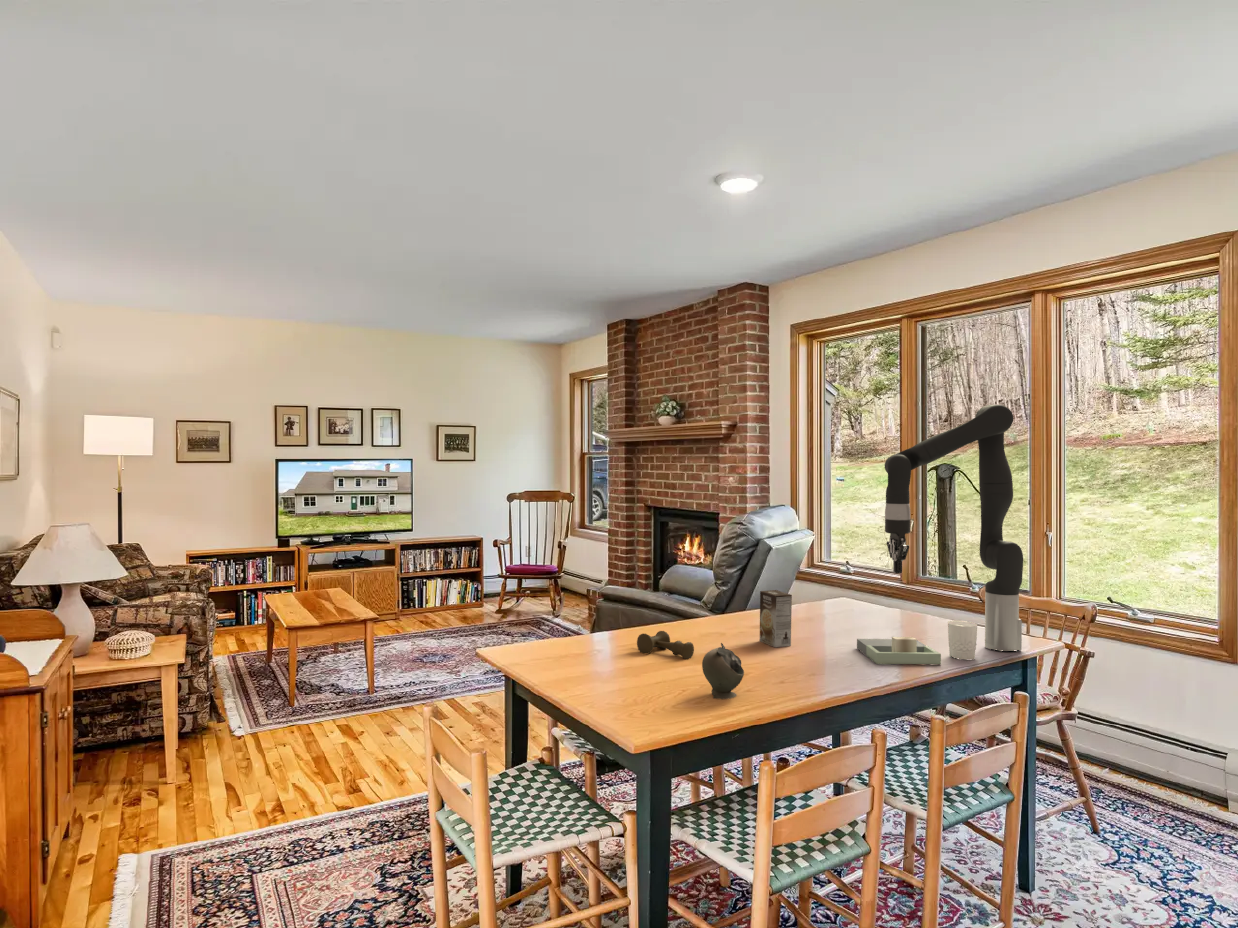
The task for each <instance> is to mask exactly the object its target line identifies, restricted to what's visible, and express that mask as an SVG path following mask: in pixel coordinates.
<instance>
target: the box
mask: <svg viewBox="0 0 1238 928" xmlns="http://www.w3.org/2000/svg"><path fill="white" fill-rule="evenodd" d="M865 657H867V658H868V659H869V658H870V659H869V660H870V661H871V662H873V663H874V664H876V665H891V664H941V665H942V662H941V660H942V654H941V653H940V652H939V651H937V650H935V649H933V648H932V647H931V646H929V645H926V646H924V653H921V652H879V651H878V650H876V649H875V648H874V647H872V646H871V645H866V655H865Z"/></svg>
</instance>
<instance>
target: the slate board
mask: <svg viewBox="0 0 1238 928" xmlns="http://www.w3.org/2000/svg"><path fill="white" fill-rule="evenodd" d="M866 645H871V646H872V647H874V648H875V649H876V650H878V651H879V652H892V638H856V649H857V650H858V649H859V650H860V652H861V653H862V654H863V653H864V654H865V655H864V654H863V655H864V656H866ZM924 646H927V645H926V644H924V643H923V642H921V641H919V640H917V652H921V653H924Z"/></svg>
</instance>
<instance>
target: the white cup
mask: <svg viewBox="0 0 1238 928" xmlns="http://www.w3.org/2000/svg"><path fill="white" fill-rule="evenodd" d="M947 635H948V636H947V638H948V647H949V648H948V649H949V650H948V651H949V652H948V653H949V657H950V656H952V657H955V658H959V659H958V660H960V659H973V660H975V659H974V658H976V657H975V656H976V649H977V640H978V639H977V638H978V637H977V636H978V624H977V623H975V622H971V621H966V620H965V621H964V620H949V621H948V622H947ZM952 657H951V658H952ZM955 658H954V659H955Z"/></svg>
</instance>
